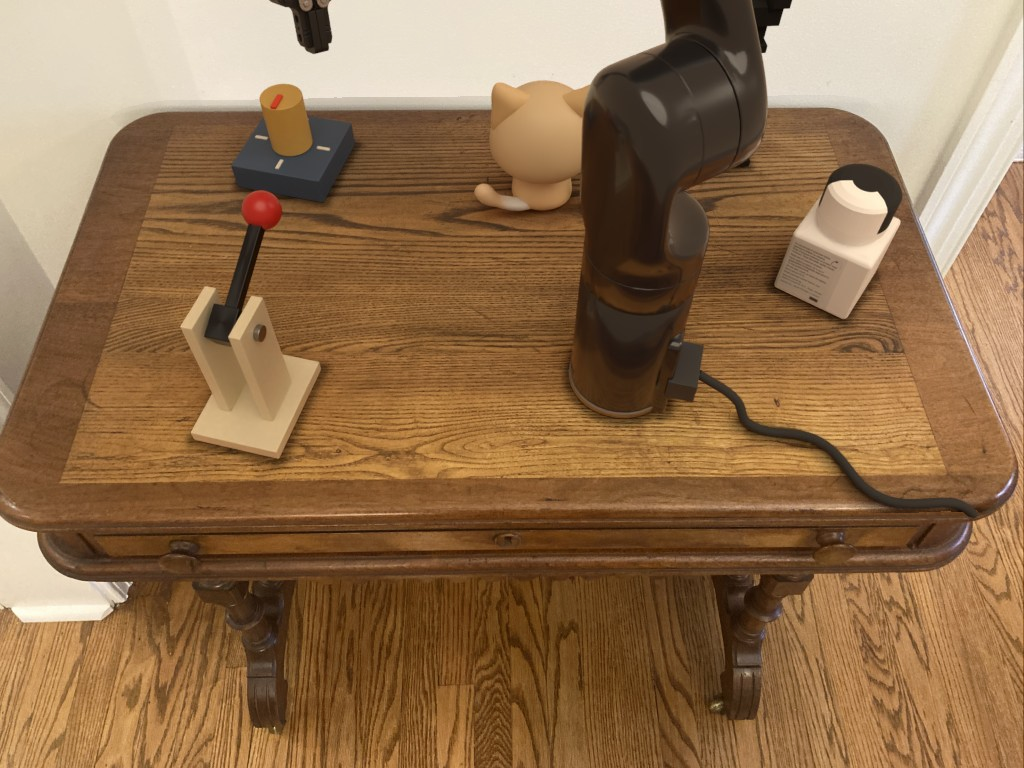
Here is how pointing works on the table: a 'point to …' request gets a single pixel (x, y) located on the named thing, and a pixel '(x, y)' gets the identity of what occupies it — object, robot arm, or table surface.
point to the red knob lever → (244, 263)
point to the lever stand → (247, 380)
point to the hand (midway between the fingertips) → (317, 50)
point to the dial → (286, 119)
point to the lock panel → (295, 161)
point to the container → (842, 239)
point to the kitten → (535, 143)
